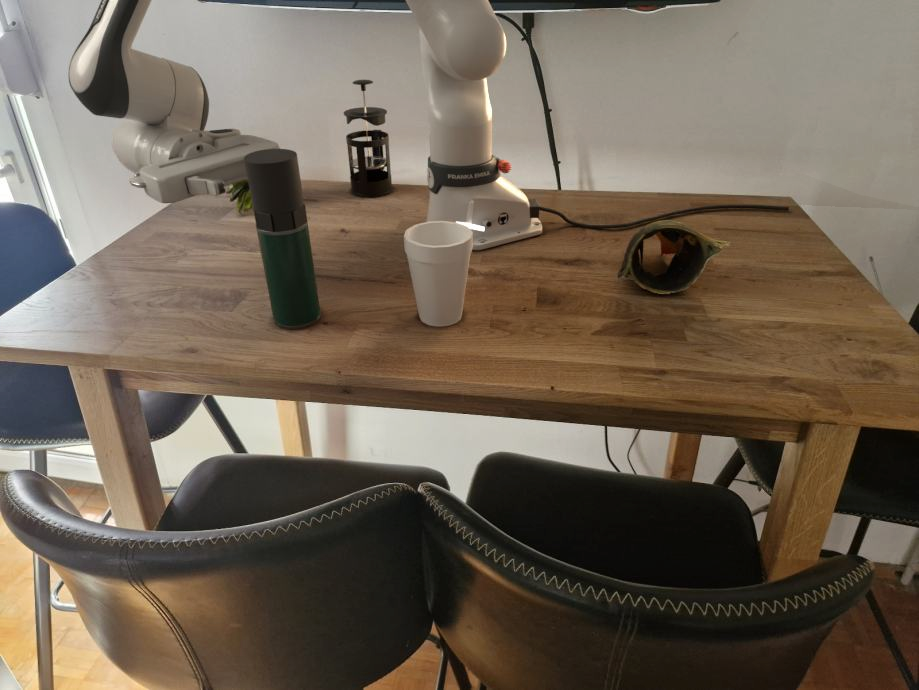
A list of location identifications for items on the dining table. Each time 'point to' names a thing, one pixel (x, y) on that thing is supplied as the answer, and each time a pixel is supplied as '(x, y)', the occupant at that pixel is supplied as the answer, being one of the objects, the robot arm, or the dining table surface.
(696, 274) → the pot
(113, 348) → the dining table surface
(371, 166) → the french press
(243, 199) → the passion flower
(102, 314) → the dining table surface
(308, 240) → the thermos
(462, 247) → the foam cup
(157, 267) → the dining table surface
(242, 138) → the robot arm
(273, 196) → the lid
